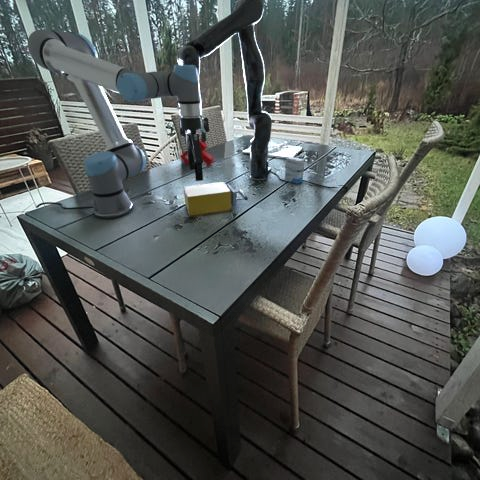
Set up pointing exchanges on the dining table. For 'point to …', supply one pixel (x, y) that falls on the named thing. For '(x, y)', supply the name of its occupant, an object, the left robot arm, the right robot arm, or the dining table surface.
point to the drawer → (233, 195)
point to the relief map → (280, 150)
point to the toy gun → (205, 156)
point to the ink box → (294, 170)
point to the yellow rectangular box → (207, 199)
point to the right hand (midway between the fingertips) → (196, 143)
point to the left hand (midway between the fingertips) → (196, 174)
